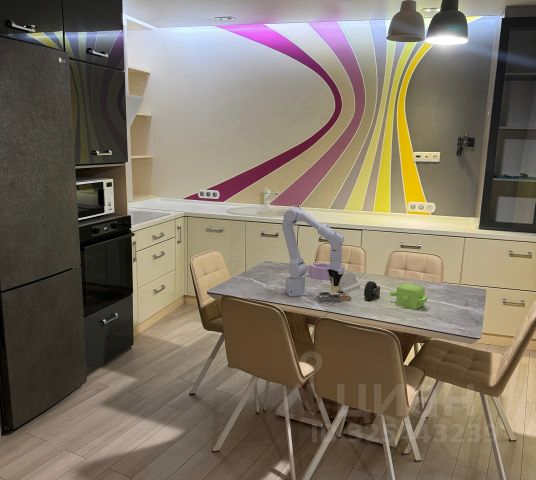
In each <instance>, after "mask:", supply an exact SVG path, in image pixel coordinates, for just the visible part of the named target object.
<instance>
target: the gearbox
mask: <svg viewBox="0 0 536 480" xmlns="http://www.w3.org/2000/svg"><path fill="white" fill-rule="evenodd" d="M425 291H426V288H425V287H423V286H420V285H415V284H412V283H411V284H410V283H402V284H400V285H399V286H397V287H396V291H390V292H389V295H390V297H396V300H395V302H396V303H395V305H396V306H399V307H403V308H407V309H412V310H417V309H419V308H422V307H423V306H425V305H424V304H425V303H427V301H428V296H425V293H426V292H425Z"/></svg>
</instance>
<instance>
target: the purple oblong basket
mask: <svg viewBox="0 0 536 480" xmlns="http://www.w3.org/2000/svg"><path fill="white" fill-rule="evenodd" d="M328 269H330V268H329V267H328V263H326V262H325V263H322V262H321V263H320V262H319V263H318V262H313V264H308V266H307V272H308V274H307V277H308V278H309V277H310V278H312V279H314V280H317V279H318V280H320V281H330V276H329V273H328V271H327V270H328ZM342 270H343V273H345V267H344V268H342Z"/></svg>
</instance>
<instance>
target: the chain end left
mask: <svg viewBox="0 0 536 480" xmlns="http://www.w3.org/2000/svg"><path fill="white" fill-rule="evenodd" d="M317 299H318V300H317ZM316 300H317V301H319V303H330V302H329V301H339V302H342V301H341V298H330V297H329V296H328V295H319V294H318V295H316Z"/></svg>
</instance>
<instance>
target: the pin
mask: <svg viewBox="0 0 536 480" xmlns="http://www.w3.org/2000/svg"><path fill="white" fill-rule="evenodd" d="M330 278H331V282H330V290H331V291H332V292H333V293H334V292H336V291H339V286H334V283H333V276H330Z"/></svg>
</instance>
